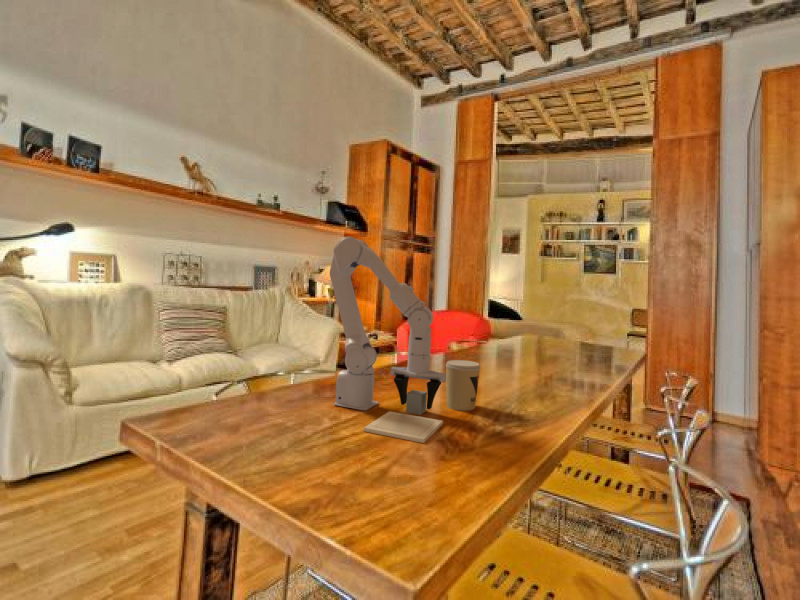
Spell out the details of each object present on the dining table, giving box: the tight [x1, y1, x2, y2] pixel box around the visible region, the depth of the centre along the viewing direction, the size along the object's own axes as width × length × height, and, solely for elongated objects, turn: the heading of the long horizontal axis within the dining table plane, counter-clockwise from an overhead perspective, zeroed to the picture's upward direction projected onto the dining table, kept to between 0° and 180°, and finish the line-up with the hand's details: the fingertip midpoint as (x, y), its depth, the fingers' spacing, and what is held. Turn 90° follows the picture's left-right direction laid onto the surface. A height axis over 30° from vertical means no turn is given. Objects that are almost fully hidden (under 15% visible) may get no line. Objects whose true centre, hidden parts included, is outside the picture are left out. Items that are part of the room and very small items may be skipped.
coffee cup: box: [445, 359, 481, 412], centre depth 121 cm, size 9×9×12 cm
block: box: [405, 389, 428, 416], centre depth 114 cm, size 4×4×5 cm
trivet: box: [363, 410, 444, 444], centre depth 102 cm, size 14×14×1 cm
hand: (416, 406), depth 114 cm, fingers open, 6 cm apart
